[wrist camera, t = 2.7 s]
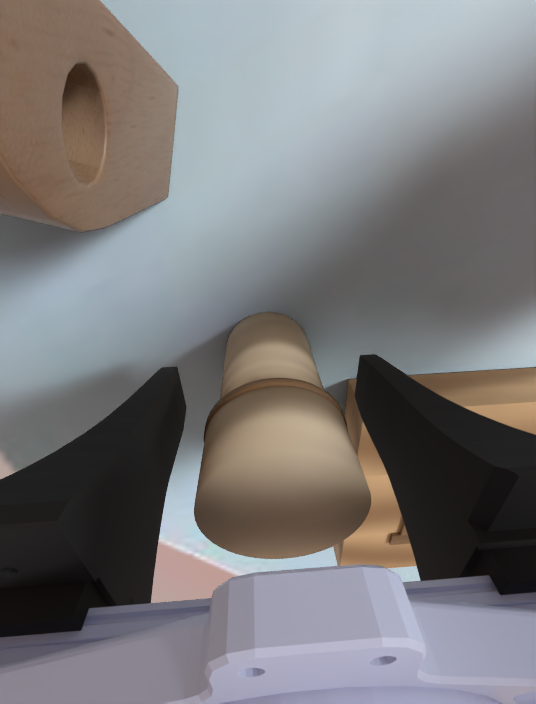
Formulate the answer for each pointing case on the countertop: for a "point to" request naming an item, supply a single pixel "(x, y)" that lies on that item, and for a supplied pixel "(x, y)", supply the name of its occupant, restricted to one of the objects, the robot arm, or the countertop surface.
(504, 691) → the robot arm
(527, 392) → the board
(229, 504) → the peg
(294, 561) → the countertop surface
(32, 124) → the wooden toy
